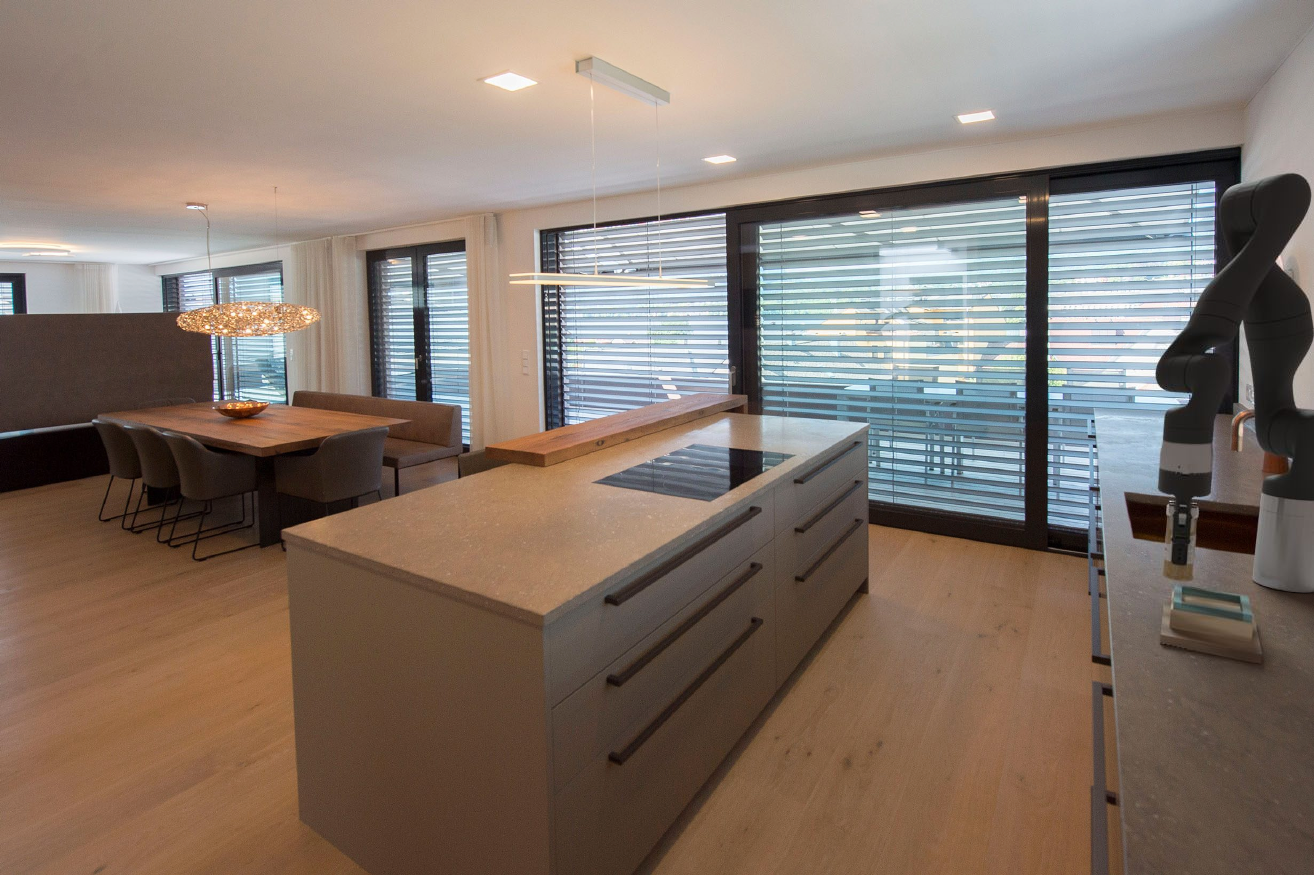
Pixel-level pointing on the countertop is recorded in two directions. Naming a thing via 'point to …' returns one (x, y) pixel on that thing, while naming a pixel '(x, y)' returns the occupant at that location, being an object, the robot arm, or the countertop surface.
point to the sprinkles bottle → (1170, 569)
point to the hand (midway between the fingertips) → (1178, 560)
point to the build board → (1210, 641)
